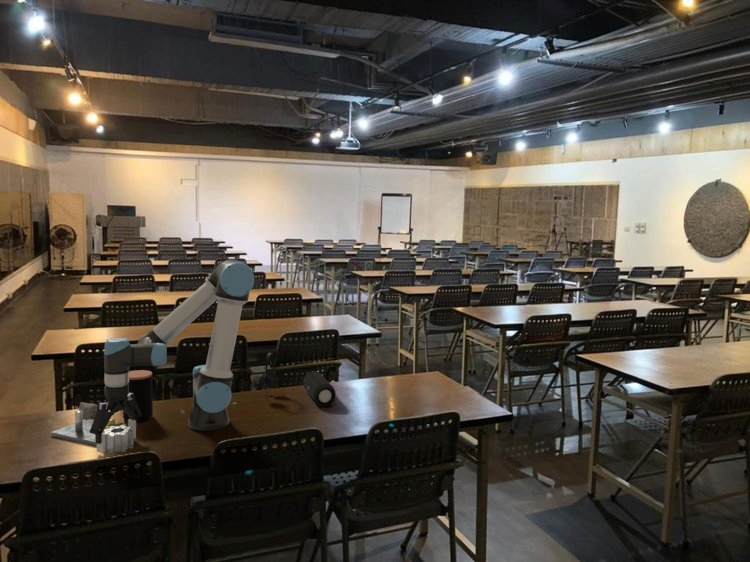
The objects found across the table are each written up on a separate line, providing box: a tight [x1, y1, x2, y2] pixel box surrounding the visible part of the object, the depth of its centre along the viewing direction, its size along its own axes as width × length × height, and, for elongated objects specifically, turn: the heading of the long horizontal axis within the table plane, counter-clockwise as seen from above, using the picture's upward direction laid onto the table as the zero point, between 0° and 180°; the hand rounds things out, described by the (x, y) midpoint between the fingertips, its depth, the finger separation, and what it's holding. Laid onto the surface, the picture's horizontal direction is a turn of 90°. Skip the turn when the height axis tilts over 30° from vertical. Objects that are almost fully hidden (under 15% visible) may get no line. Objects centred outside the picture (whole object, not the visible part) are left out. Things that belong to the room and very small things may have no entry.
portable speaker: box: [302, 370, 337, 407], centre depth 249 cm, size 26×10×10 cm, turn 20°
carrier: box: [50, 409, 125, 448], centre depth 200 cm, size 22×15×8 cm
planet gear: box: [103, 424, 135, 454], centre depth 190 cm, size 10×10×6 cm
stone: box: [77, 401, 98, 420], centre depth 218 cm, size 10×8×6 cm
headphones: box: [258, 352, 277, 399], centre depth 248 cm, size 15×11×20 cm
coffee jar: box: [122, 369, 154, 424], centre depth 217 cm, size 11×11×18 cm
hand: (116, 444), depth 190 cm, fingers open, 13 cm apart
